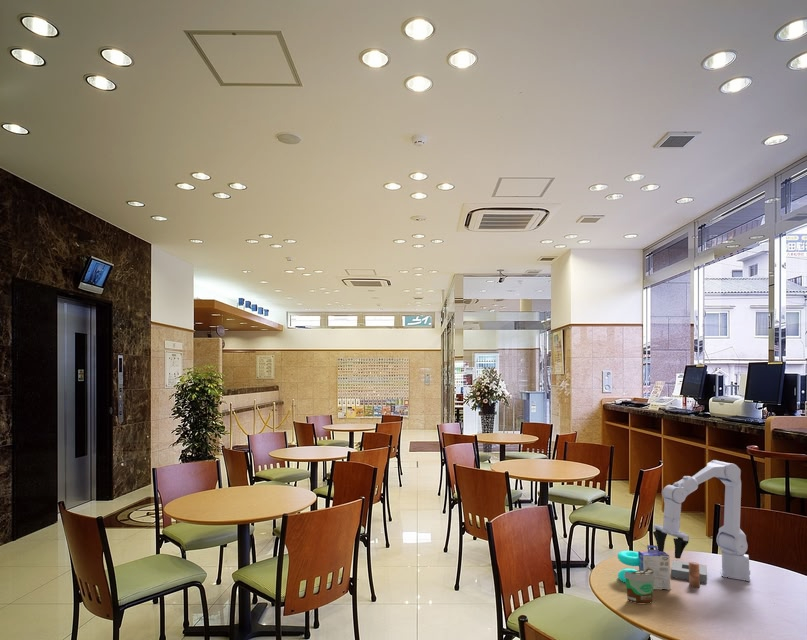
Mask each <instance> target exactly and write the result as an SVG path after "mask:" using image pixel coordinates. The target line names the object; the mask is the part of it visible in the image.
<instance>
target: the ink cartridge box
mask: <svg viewBox="0 0 807 640" xmlns="http://www.w3.org/2000/svg"><path fill="white" fill-rule="evenodd" d="M646 546H647V551H646V550H645V551H642V550H641V551H637V552H638V556H639V559H640V566H638V570H646V569H647V567H650V568H652V569H653V570H654V572H655V576H656V579H655V580H654V582H653V590H662V589H667V590H668V591H670V590H671V571H670V570H671V569H670V568H671V565H670V561H671V560H670V555H669V554H668V553H666V552H665V551H658V547H657V545H650V544H649V545H648V544H647V545H646ZM650 548H653V549H650Z"/></svg>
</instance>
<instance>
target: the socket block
mask: <svg viewBox="0 0 807 640" xmlns="http://www.w3.org/2000/svg"><path fill="white" fill-rule="evenodd" d="M689 562H690V561H689ZM689 562H688V561H680V560H677V559H676V560H675V559H673V560H672V563H671V569H670V570H671V571H670V574H671V578H673V577H677V578H676V579H679V578H682V579H681V580H685V579H686V581H689ZM698 564H699V572H700V583H702V582H704V583H703V584H707V583H708V582H707V581H708V570H707V568H708V567H707V565H706V564H700V563H698Z"/></svg>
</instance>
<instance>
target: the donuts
mask: <svg viewBox="0 0 807 640" xmlns="http://www.w3.org/2000/svg"><path fill="white" fill-rule="evenodd" d="M617 559H618V561H619V562H621V563H622V564H624V565H626V566H630V567H639V566H640V559H639V556H638V551H635V550H622V551H619V552H618V554H617ZM625 571H626V572H629V573H632V572H635V571H637V569H634V568H624V569H621V570H619V571H618V574H617V577H618V579H619V581H621V582H622V581H623V583H624V582H625V583H624V584H626V578H624V576H625Z"/></svg>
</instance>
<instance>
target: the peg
mask: <svg viewBox="0 0 807 640" xmlns="http://www.w3.org/2000/svg"><path fill="white" fill-rule="evenodd" d="M699 564H700V563H699V562H694V561H689V580H688V585H689V586H690V587H692V586H693V587H692V588H696V587H698V588H700V587H701V584H700V583H701V582H700V572H699Z"/></svg>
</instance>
